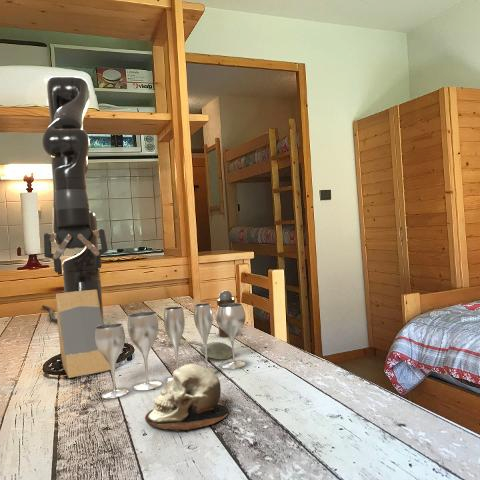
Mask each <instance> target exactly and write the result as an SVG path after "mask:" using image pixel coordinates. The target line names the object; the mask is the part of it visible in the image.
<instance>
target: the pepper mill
mask: <svg viewBox="0 0 480 480" xmlns="http://www.w3.org/2000/svg"><path fill="white" fill-rule="evenodd" d="M228 303H236V298H235V297H233V294H232V292H231V291H229V290H226V289H225V290H222V291H220V293H219V294H218V299H216V308H217V309H218V306H219V305H222V304H228ZM217 309H216V310H217ZM218 335H219V337H222V338H227V337H228V338H229V336H228V335H227V334H226V333H225V332H224V331H223V330H222V329H221V328H220V327H219V326H218Z"/></svg>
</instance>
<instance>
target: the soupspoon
mask: <svg viewBox="0 0 480 480" xmlns="http://www.w3.org/2000/svg"><path fill="white" fill-rule="evenodd" d="M169 343H170V345H172V346H173V344H172V342H171V340H170V339H169ZM180 343H185V344H189V345H195V346H197V347H200V349H199V350H200V352H201V354H203V355H205V350H204V344H203V342H197V341H192V340H186V339H181V340H180ZM207 358H210V359H214V360H228V359H230V358H233V355H232V346H231V345H228V344H226V343H224V342H220V341H214V342H208V343H207Z"/></svg>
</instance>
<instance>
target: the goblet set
mask: <svg viewBox="0 0 480 480" xmlns="http://www.w3.org/2000/svg"><path fill="white" fill-rule="evenodd" d="M212 308H213V307H212V304H211V303H210V302H202V303H197V304H194V308H193V321H194V325H195V327H196V329H197V332H198V334H199V336H200V338H201V340H202V344H204V350H205V354H204V359H205V368H207V369H208V370H210V371H211V372H213V373H214V374H216V373H217V372H218V369H217V368H215V367H209V364H208V356H207V344H208V340H209V335H210V332H211V330H212V326H213V319H214V316H213V314H214V313H213V309H212ZM246 316H247V315H246V311H245V309H244V306H243V304H242V303H239V302H235V303H228V304H222V305H219V306H218V309H216V314H215V322H216V324H217V326H218V328H219V327H220V328H221V329H222V330H223V331H224V332H225V333H226V334H227V335H228V336H229V337H228V338H229V341H230V344H231V345H230V346H231V348H232V355H233V356H232V361H229V362H226V363H223V364H222V365H221V367H222V368H223V369H227V370H232V369H241V368H243V367H245V366H246V365H247V363H246V361H242V360H235V339H236V336H237V335H238V333H239V331H240V330H241V329H242V327H244V325H245V324H246V323H245V322H246ZM185 323H186V321H185V312H184V309H183V306H181V305H180V306H179V305H178V306H169V307H165V308H164V310H163V325H164V329H165V333H166V335H167V337H168V338H169V341H170V340H171V342H172V344H173V345H172V344H171V345H172V347H173V349H174V354H175V363H176V364H175V365H176V370H177V369H178V368H180V366H179V365H180V364H179V347H180V343H181V342H180V340H182V337H183V334H184V332H185V331H184V330H185V325H186V324H185ZM127 332H128V333H127V334H128V336H129V339H130V341H131V342H132V343H133V345H134V346H135V347H136V348H137V349H138V350H139V352H140V353H141V355H142V358H143V362H144V370H145V381H144V382H140V383H138V384H136V385H134V387H133V389H134V390H135V391H142V392H143V391H151V390H154V389H157V388H160V387H161V386H162V382H161V381H158V380H149V361H148V360H149V354H150V351H151V349H152V347H153V346H154V344H155V342H156V340H157V337H158V333H159V319H158V314H157V311H140V312H139V311H138V312H134V313H130V314H128V315H127ZM125 340H126V334H125V327H124V324H123V323H120V322H114V323H106V324H105V323H104V325H101V326H98V327H96V331H95V341H96V345H97V348H98V350H99V352H100V353H101V354H102V356H103V357H104V358H105V359H106V360H107V361H108V363H109V365H110V369H111V370H110V372H111V373H110V374H111V379H112V381H111V382H112V389H111V390H107V391H105V392H103V393H102V394H101V395H100V398H102V399H104V400H105V399H106V400H108V399H109V400H110V399H111V400H112V399H116V398H117V399H118V398H121V397H124V396H125V395H127V394H129V390H128V389H126V388H116V364H117V360H118V358H119V357H120V354H121V353H122V351H123V349H124V346H125ZM171 379H173V375H172V376H170V377H168V378H167V381H169V380H171Z"/></svg>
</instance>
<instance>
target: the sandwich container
mask: <svg viewBox="0 0 480 480" xmlns="http://www.w3.org/2000/svg"><path fill="white" fill-rule="evenodd" d="M55 306H56V319H57V321H58V323H57V330H58V340H59V348H60V357H61V364H62V368H63V370H64V372H65V374H66V375H67V377H68V379H71V378H76V377H83V376H87V375H92V374H97V373H98V374H99V373H102V372H107V371H111V369H110V365H109V363H108V361H107V360H106V359H105V358H104V357H103V356H102V354H101V353H100V352H99V350H98V348H97V345H96V341H95V331H96V327H98V326H101V325H105V323H104V324H103V320H102V315H101V310H100V305H99V299H98V293H97V290H85V291H75V292H67V293H65V292H60V293H56V294H55Z"/></svg>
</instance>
